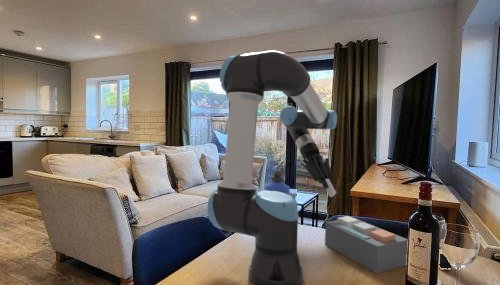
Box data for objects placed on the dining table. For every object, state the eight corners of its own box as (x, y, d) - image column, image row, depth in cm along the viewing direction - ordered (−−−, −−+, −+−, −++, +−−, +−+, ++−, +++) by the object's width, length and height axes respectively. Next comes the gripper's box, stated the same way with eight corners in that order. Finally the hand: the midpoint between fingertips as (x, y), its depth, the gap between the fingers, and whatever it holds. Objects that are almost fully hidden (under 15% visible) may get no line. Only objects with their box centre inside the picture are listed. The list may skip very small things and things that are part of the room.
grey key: (375, 236, 98) (375, 226, 98) (363, 238, 96) (364, 229, 96) (363, 231, 102) (363, 222, 102) (352, 233, 100) (352, 224, 100)
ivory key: (358, 229, 105) (358, 220, 105) (347, 231, 103) (347, 221, 102) (347, 224, 109) (348, 215, 109) (337, 226, 107) (337, 217, 107)
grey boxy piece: (407, 265, 92) (408, 238, 91) (376, 273, 86) (377, 245, 86) (352, 238, 113) (353, 216, 112) (324, 244, 107) (325, 221, 107)
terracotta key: (394, 245, 91) (395, 234, 91) (383, 247, 89) (383, 237, 89) (381, 239, 96) (381, 229, 96) (370, 241, 94) (370, 231, 93)
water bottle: (292, 234, 117) (293, 170, 115) (281, 241, 109) (283, 173, 107) (271, 229, 121) (272, 168, 120) (259, 236, 114) (260, 171, 112)
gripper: (315, 152, 133) (341, 198, 119) (291, 153, 127) (314, 201, 113) (323, 141, 128) (351, 188, 114) (298, 141, 122) (324, 191, 108)
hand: (333, 194), depth 114 cm, fingers closed
